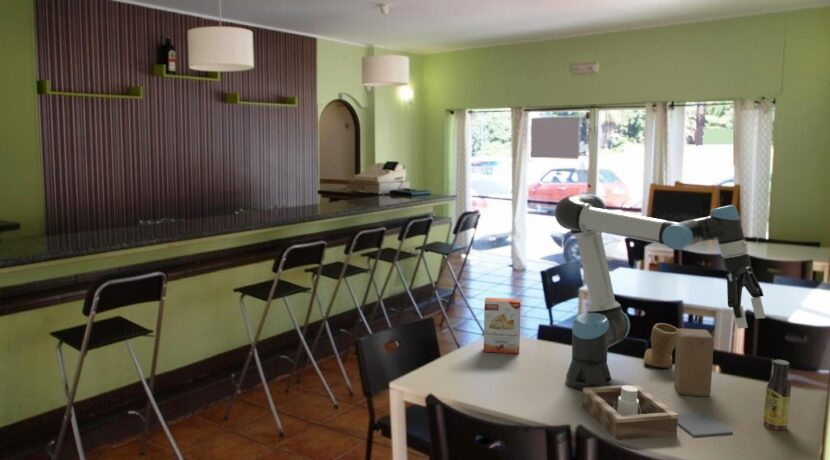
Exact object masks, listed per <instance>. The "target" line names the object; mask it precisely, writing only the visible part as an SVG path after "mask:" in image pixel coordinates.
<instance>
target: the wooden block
mask: <svg viewBox="0 0 830 460" xmlns="http://www.w3.org/2000/svg"><path fill="white" fill-rule="evenodd" d="M714 342H715V339H714V337H713V335H711V333H710V332H709V330H707V329H698V328H697V329H696V328H680V327H679V328H677V333H676V346H675V353H674V354H675V355H674V372H673V373H674V374H673V378H674V379H673V383H674V386H675V388H676V391H677V393H678V394H679V395H683V396H684V395H686V396H698V397H699V396H701V397H709V396H711V391H712V376H713V363H714V362H713V360H714V358H713V357H714V345H715V344H714Z"/></svg>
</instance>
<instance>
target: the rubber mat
mask: <svg viewBox="0 0 830 460" xmlns="http://www.w3.org/2000/svg"><path fill="white" fill-rule="evenodd" d="M677 414H678V423H677V426H679V427H680V428H681V429H682V430H684V431H685V432H687V433H688V434H689V435H691V436H692V437H693V438H696V437H707V436H708V437H710V436H721V435H732V434H733V433H734V432H733V431H732V430H731V429H729V428H728V427H727V426H725V425H724V424H722V423H720V422H719V421H718V420H717V419H715V418H713V417H712V416H710V415H709V414H707V413H706V412H704V411H700V412H689V413H685V412H684V413H677Z"/></svg>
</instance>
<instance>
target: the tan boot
mask: <svg viewBox="0 0 830 460" xmlns="http://www.w3.org/2000/svg"><path fill="white" fill-rule="evenodd" d="M677 329H678V328H677V327H675V326H673V325H672V324H668V323H663V322H659V323H655V324H654V325H653V327H652V330H651V333H650V334H651V335H650V344H651V348H648V349H646V351H645V352H644V355H643V356H644V357H643V362H644V364H645V365H647V366H650V367H654V368H655V367H656V368H670V367H671V365H672V363H673V355H672V354H673V351H674V349H675V348H676V333H677Z"/></svg>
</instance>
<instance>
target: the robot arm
mask: <svg viewBox="0 0 830 460" xmlns="http://www.w3.org/2000/svg"><path fill="white" fill-rule="evenodd" d="M554 217H555V220H556V222H557V223H558V225H559V226H561V227H562V228H563V229H566V230H570V234H571V235H572V237H574V238H575V239H576V240H577V241H576V242H577V246H578V250H579V253H580V254H579V257H580V260H581V264H582V270H583V275H584V280H585V284H586V289H587V293H588V298H589V303H590V305H589V306H588V308H587V310H586V311H587V312H586V313H581V314H578V315H577V316H575V317H574V318H573V322H572V328H571V329H572V330H571V331H572V338H571V344H572V345H571V362H570V364H569V366H568V369H567V372H566V374H565V383H566V385H567V386H569V387H571V388H573V389H576V390H579V391H583V388H588V387H602V386H613V384H612V383H613V382H612V381H613V379H612V376H611V372H610V369H609V366H608V349H609V348H610V347H612V346H614V345H616V344H620V342H622V341H623V340H624V339H625V338H626V337H627V336H628V334H629V332H630V327H631V323H630V319H629V317H628V315H627V313H625V312H624V311H623V310H622V306H621V304H620V303H619V301H617V300H616V299H615V292H614V289H613V283H612V280H611V274H610V269H609V264H608V261H607V255H606V250H605V246H604V240H603V235H602V233H603V234H609V235H614V236H617V237H618V236H619V237H623V238H624V237H625V238H629V239H634V240H639V241H643V242H644V241H645V242H649V243H655V244H660V245H664V246H666V247H667V248H669V249H672V250H682V249H685V248H688V247H689V246H693V245H695V244H698V243H703V242H707V241H713V240H717V243H718V247H719V251H720V256H721V257H723V258H722V263H723V264H722V265H723V268H724V269H725V270H727V271H730V273H729V274H726V275H725V278H726V285H727V287H726V288H727V289H726V290H727V291H726V292H727V306H728V308H729V309H730V308H732V310H733V314H734V319H735V323H736V326H737V329H747V328H749V326H748V323H747V319H746V314H745V311H744V307H743V305H742V297H743V296H742V295H743V288H744V287H745V289H746V291H747V292H748V293H749V295H750V296H751V298H750V301H751V305H752V309H753V313H754V317H755V319H756V320H757V319H766V314H765V311H764V306H763V302H762V298H761V297H764V293H763V289H762V287H761V285H760V283H759V281H758V279H757V277H756V275H755V273H754V270H753V267H752V266H751V265H752V262H751V259H750V254H748V253H747V252H748V247H747V246H748V243H747V242H746V239H745V235H744V232H743V225H742V223H741V217H740V215H739V212H738V209H737V206H735V205H733V204H729V205H725V206H720V207H717V208H712V209H711V210H710V215H708V216H704V217H699V218H694V219H689V220H684V221H680V222H677V221H671V220H666V219H662V218H654V217H648V216H643V215H637V214H632V213H625V212H620V211H616V210H615V211H614V210H609V209H607V207H606V204H605V202H604V201H603V200H602V198H600V196H597V195H596V194H591V193H581V194H575V195H569V196H565V197H564V198H561V199H560V200H559V202H557V204H556V206H555V208H554Z"/></svg>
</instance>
